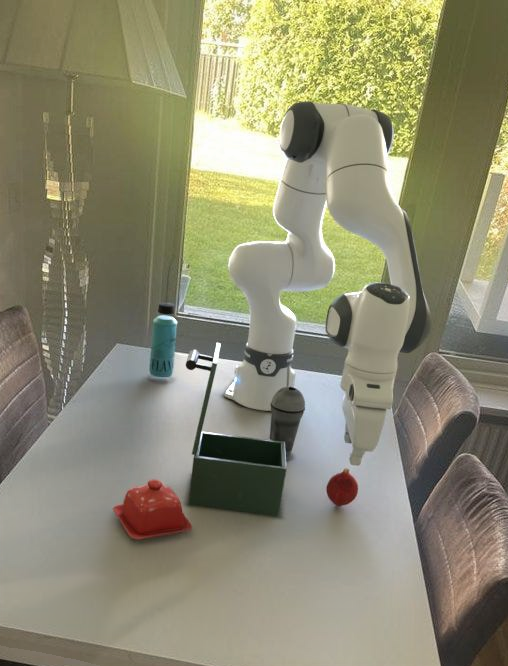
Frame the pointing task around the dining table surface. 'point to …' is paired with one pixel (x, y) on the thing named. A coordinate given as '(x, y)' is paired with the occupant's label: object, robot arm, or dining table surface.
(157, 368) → the beverage bottle
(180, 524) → the butter dish
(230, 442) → the green box
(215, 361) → the green box lid
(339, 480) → the onion
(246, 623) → the dining table surface
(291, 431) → the beverage cup
